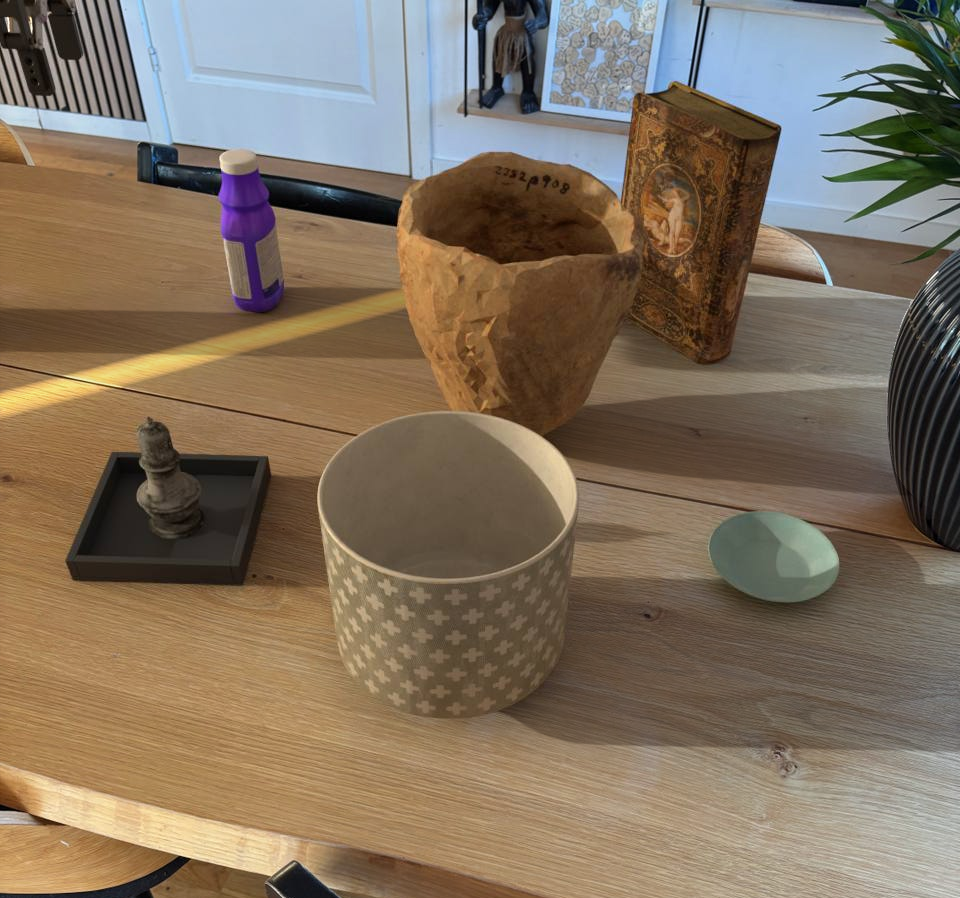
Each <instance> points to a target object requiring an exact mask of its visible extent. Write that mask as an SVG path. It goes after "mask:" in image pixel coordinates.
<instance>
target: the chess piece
mask: <svg viewBox="0 0 960 898" xmlns="http://www.w3.org/2000/svg"><path fill="white" fill-rule="evenodd" d="M135 434H136V437H135V438H136V440H137V445H138V447H139V450H140V452H141V454H142V456H141V457H140V460H139V463H140V465H141V467H142V468H143V469H145V471H146V474H147V478H148V479H147V480H146V481H145V482H144V483H143V484H142V485H141V486H140V487H139V489H138V491H137V501H138V503H139V504H140V506H141V507H143V508H144V509H145V511H146V512H147V513H148V514H149V515H150V518H149V521H148V524H149V528H150V530H151V532H152V533H154V534H155V535H156V536H158V537H161V538H165V539H179V538H184V537H187V536H189V535H191V534H193V533H195V532H196V531H198V530H199V529H200V528H201V527H202V525H203V523H204V520H205V515H204V511H203V510H202V508H201V507H199V506H198V502H199V496H200V493H201V485H200V483H199V481H198V480H197V479H196V478H195V477H193V476H192V475H190V474H187V473H183V472H181V471H180V467H179V464H178V463H179V461H180V454H181V453H180V452H179V451H178V450H176V448H174V445H173V440H172V437H171V433H170V430H169V428H168V426H166V425H165V424H164V423H162V422H161V421H156V420H154V419H153V417H150V416H146V418H145V420H144V423H142V424H141V425H139V426H138V428H137V429H136V432H135Z"/></svg>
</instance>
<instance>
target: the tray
mask: <svg viewBox="0 0 960 898" xmlns="http://www.w3.org/2000/svg"><path fill="white" fill-rule="evenodd" d="M179 454H180V461H179V463H178V464H179V467H180V471H181V472H183V473H187V474H190V475H192V476H193V477H195V478H196V479H197V480H198V481H199V483H200V485H201V493H200V496H199V502H198V506H199V507H201V508H202V510H203V511H204V515H205V520H204V523H203V525H202V527H201V528H200V529H199V530H198V531H196V532H195V533H193V534H191V535H189V536H187V537H184V538H179V539H165V538H161V537H158V536H156V535H155V534H154V533H152V532H151V530H150V528H149V524H148V521H149V518H150V515H149V514H148V513H147V512H146V511H145V509H144V508H143V507H141V506H140V504H139V503H138V501H137V491H138V489H139V487H140V486H141V485H142V484H143V483H144V482H145V481H146V480H147V479H148V478H147V474H146V471H145V469H143V468H142V467H141V465H140V463H139V460H140V457H141V456H142V454H141V451H140V452H139V451H138V452H137V451H135V452H134V451H111V452H110V455H109V458H108V460H107V462H106V464H105V467H104V469H103V471H102V474H101V476H100V477H99V480H98V483H97V485H96V487H95V490H94V492H93V495H92V497H91V498H90V502H89V504H88V506H87V508H86V511H85V513H84V515H83V518H82V521H81V523H80V524H79V527H78V529H77V532H76V535H75V536H74V539H73V541H72V543H71V546H70V548H69V550H68V552H67V555H66V557H65V560H64V562H65V564H66V568H67V569H68V572H69V574H70V576H71V579H72V581H79V582H81V581H84V582H85V581H86V582H114V583H115V582H117V583H118V582H119V583H147V584H149V583H150V584H151V583H152V584H153V583H154V584H183V585H184V584H186V585H188V584H189V585H221V586H244V585H245V581H246V578H247V574H248V569H249V565H250V561H251V559H252V558H251V557H252V553H253V549H254V547H255V546H254V545H255V542H256V538H257V534H258V530H259V527H260V526H259V525H260V522H261V518H262V514H263V511H264V507H265V502H266V499H267V495H268V492H269V491H268V490H269V487H270V483H271V480H272V471H271V466H270V461H269V460H270V459H269V456H268V455H247V454H246V455H245V454H243V455H242V454H213V453H212V454H211V453H210V454H205V453H179Z"/></svg>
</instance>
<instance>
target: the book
mask: <svg viewBox="0 0 960 898" xmlns="http://www.w3.org/2000/svg"><path fill="white" fill-rule="evenodd" d="M629 124H630V125H629V126H630V127H629V131H628V140H627V149H626V156H625V165H624V172H623V173H624V174H623V179H622V181H623V182H622V188H621V196H620V202H621V204H622V205H623V206H624V207H625V209H626V210H627V211H628V212H629V213H631V214H633V215H634V216H636V217H637V218H638V219H639V221H640V222H641V224H642V227H643V234H644V240H645V250H644V253H643V270H642V273H641V279H640V283H639V286H638V290H637V293H636V295H635V298H634V301H633V304H632V306H631V308H630V310H629V312H628V314H627V316H626V317H625V320H627V321H629V322H631V323H632V324H634V325H635V326H637V327H639V328H640V329H642V330H643V331H646V332H647V333H648V334H650V335H652V336H653V337H655V338H656V339H658V340H659V341H661V342H663V343H665V344H666V345H668V346H669V347H671V348H673V349H674V350H676V351H678V352H679V353H681V354H682V355H684V356H686V357H687V358H690V360H693V361H694V362H695V363H697V364H700V365H712V364H716V363H719V362H721V361H723V360H726V359H727V358H728V357H729V356H730V355H731V353H732V348H733V344H734V339H735V335H736V331H737V326H738V323H739V317H740V313H741V309H742V304H743V300H744V296H745V291H746V287H747V282H748V279H749V273H750V269H751V266H752V261H753V257H754V252H755V248H756V243H757V238H758V235H759V230H760V225H761V220H762V217H763V212H764V207H765V204H766V199H767V195H768V191H769V186H770V183H771V177H772V173H773V169H774V164H775V160H776V155H777V150H778V147H779V142H780V138H781V133H782V126H781V125H780V124H778V123H776V122H773V121H771V120H768V119H766V118H764V117H762V116H759V115H758V114H754V113H752V112H750V111H747V110H745V109H743V108H740V107H738V106H736V105H733V104H731V103H729V102H727V101H724V100H722V99H719V98H717V97H715V96H713V95H710V94H708V93H705V92H703V91H701V90H698V89H697V88H694V87H691V86H690V85H687V84H685V83H682V82H680V81H678V80H673V81H671V82H669V84H668V86H667V89H665V90H661V91H657V92H656V91H655V92H647V93H645V92H644V91H638V92H636V93H635V95H634V96H633V101H632V109H631V117H630V123H629Z"/></svg>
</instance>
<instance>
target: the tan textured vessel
mask: <svg viewBox="0 0 960 898" xmlns="http://www.w3.org/2000/svg"><path fill="white" fill-rule="evenodd" d="M396 239H397V247H396V254H397V260H398V266H399V272H398V273H399V282H400V283H401V286H402V290H403V294H404V298H405V299H404V300H405V308H406V311H407V314H408V318H409V322H410V325H411V327H412V329H413V332H414V335H415V337H416V339H417V341H418V343H419V346H420V347H421V350H422V352H423V354H424V356H425V357H426V360H427V361H428V363H429V365H430V366H431V367H430V368H431V371H432V373H433V376H434V377H435V380H436V382H437V386H438V387H439V390H440V391H441V394H442V396H443V399H444V400H445V402H446V404H447V405H448V406H449V408H450V410H451V411H463V412H473V413H480V414H486V415H491V416H495V417H499V418H502V419H506V420H509V421H512V422H514V423H517V424H519V425H522V426H524V427H526V428H528V429H530V430H532V431H534V432H535V433H537V434H539V435H540V436H542V437H544V436H545V435H546V434H548V433H550V432H552V431H553V430H555V429H556V428H559V427H561V426H563V425H564V424H566V423H567V422H568V421H569V420H571V419H572V418H573V417H574V415H575V414H576V413H578V411H579V410H580V409H581V408H582V407H583V406H584V405H585V403H586V401H587V400H588V398H589V396H590V394H591V391H592V389H593V386H594V383H595V381H596V379H597V376H598V373H599V371H600V369H601V367H602V365H603V364H604V361H605V358H606V357H607V354H608V353H609V350H610V348H611V347H612V343H613V341H614V340H615V338H616V337H617V336H618V334H619V332H620V330H621V327H622V326H623V323H624V321H625V320H626V318H625V317H626V316H627V314H628V312H629V310H630V308H631V306H632V304H633V301H634V298H635V295H636V293H637V290H638V286H639V283H640V279H641V273H642V270H643V253H644V250H645V240H644V234H643V227H642V224H641V222H640V221H639V219H638V218H637V217H636V216H634V215H633V214H631V213H629V212H628V211H627V210H626V209H625V207H624V206H623V205H622V204H621V199H620V198H619V196H618V194H617V193H616V192H615V191H614V190H613V189H612V188H611V187H610V186H608V185H607V184H606V183H604V182H603V181H602V180H600V179H599V178H598V177H596V176H595V175H594V174H592V173H591V172H589V171H586V170H584V169H581V168H579V167H577V166H575V165H571V164H570V163H568V164H567V163H556V162H552V161H547V160H540V159H534V158H531V157H527V156H524V155H521V154H518V153H515V152H514V151H513V152H512V151H486V152H480V153H479V154H476V155H474V156H472V157H470V158H468V159H466V160H465V161H464V162H462V163H461V164H459V165H456V166H454V167H451V168H448V169H445V170H442V171H440V172H439V173H437V174H436V173H435V174H433V175H432V174H431V175H429V176H427V177H425V178H423V179H421V180H418V181H417V182H415V183H413V184H411V185H410V187H409V188H408V189H407V190H406V191H405V192H404V193H403V195H402V202H401V204H400V207H399V209H398V215H397V226H396Z"/></svg>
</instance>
